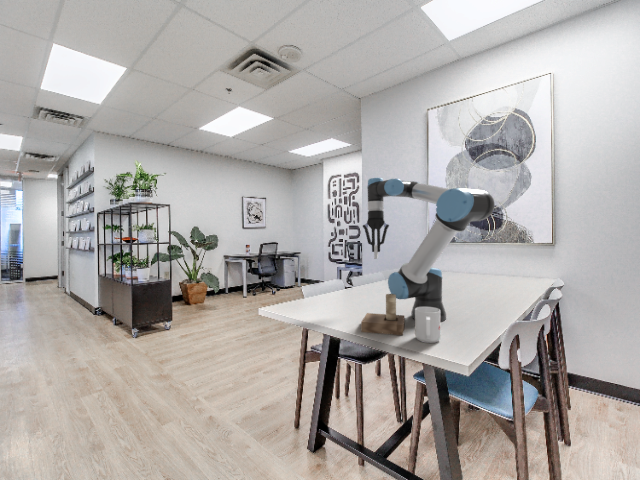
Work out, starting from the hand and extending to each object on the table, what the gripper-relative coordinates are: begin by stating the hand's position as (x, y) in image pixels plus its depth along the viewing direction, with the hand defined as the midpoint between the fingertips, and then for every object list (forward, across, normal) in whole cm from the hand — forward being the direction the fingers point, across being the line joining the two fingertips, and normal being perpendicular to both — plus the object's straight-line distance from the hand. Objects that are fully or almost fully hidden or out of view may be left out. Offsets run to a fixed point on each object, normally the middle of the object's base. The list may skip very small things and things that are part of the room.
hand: (376, 258), depth 157 cm
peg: (+26, -9, +25) cm, 37 cm away
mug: (+27, -23, +36) cm, 50 cm away
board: (+26, -6, +25) cm, 37 cm away
